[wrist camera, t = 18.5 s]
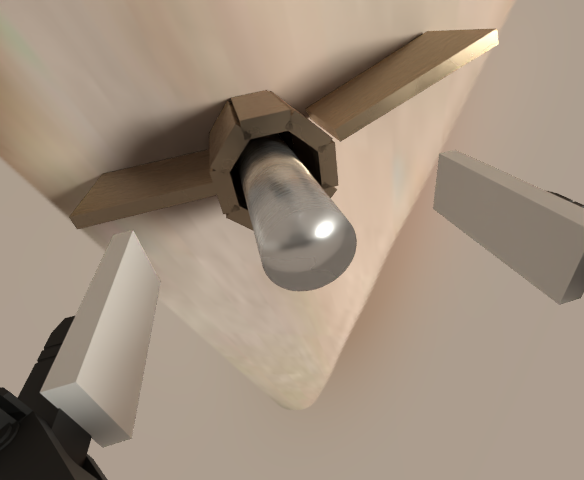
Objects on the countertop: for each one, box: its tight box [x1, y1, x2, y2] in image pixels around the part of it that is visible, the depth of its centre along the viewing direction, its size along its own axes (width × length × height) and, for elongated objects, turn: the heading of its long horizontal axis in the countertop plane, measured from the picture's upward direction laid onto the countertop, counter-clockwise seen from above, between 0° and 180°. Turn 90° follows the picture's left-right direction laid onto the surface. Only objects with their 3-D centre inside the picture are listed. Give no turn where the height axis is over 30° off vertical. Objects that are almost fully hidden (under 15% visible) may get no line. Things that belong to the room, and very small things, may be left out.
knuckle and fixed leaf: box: [69, 90, 338, 231], centre depth 20 cm, size 7×15×8 cm, turn 99°
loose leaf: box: [306, 29, 498, 142], centre depth 20 cm, size 10×1×6 cm, turn 119°
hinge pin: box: [236, 133, 357, 291], centre depth 18 cm, size 4×4×15 cm
